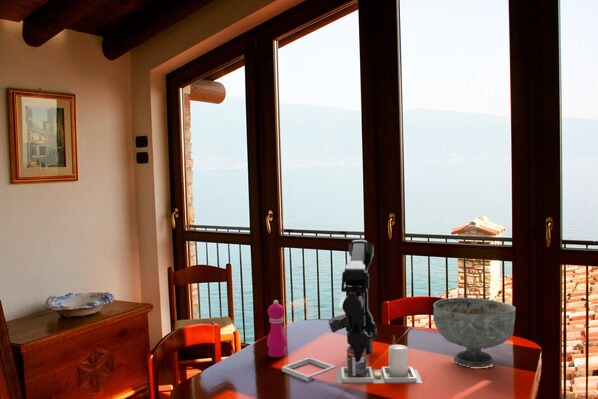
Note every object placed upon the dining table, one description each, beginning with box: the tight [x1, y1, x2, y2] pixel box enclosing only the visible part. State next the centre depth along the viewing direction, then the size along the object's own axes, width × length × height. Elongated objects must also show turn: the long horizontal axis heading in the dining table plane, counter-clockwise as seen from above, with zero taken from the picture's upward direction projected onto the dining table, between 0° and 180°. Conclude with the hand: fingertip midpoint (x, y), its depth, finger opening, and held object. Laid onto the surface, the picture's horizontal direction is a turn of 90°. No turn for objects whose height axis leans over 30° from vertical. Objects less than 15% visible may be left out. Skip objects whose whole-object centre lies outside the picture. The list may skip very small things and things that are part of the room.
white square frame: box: [281, 357, 337, 382], centre depth 177 cm, size 13×13×2 cm
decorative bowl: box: [432, 297, 516, 367], centre depth 181 cm, size 26×26×20 cm
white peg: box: [387, 344, 409, 377], centre depth 167 cm, size 6×6×9 cm
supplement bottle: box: [346, 345, 367, 377], centre depth 168 cm, size 6×6×11 cm
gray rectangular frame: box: [335, 366, 423, 384], centre depth 168 cm, size 26×11×2 cm, turn 87°
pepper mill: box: [266, 299, 288, 358], centre depth 193 cm, size 7×7×20 cm
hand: (356, 356), depth 168 cm, fingers open, 9 cm apart
